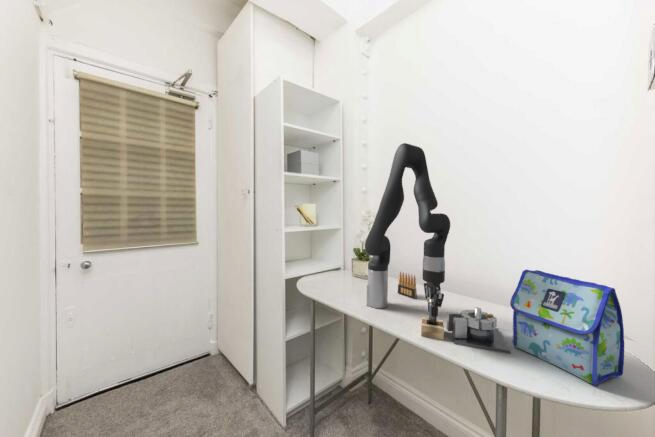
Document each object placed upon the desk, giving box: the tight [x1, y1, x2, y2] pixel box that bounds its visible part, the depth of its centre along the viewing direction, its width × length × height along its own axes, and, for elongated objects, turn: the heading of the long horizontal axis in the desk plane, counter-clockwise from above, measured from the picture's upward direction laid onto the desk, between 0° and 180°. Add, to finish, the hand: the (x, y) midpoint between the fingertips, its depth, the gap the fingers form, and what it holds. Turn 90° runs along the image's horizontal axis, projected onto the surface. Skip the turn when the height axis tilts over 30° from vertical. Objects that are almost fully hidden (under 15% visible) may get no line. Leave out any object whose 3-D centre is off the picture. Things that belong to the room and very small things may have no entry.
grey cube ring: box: [446, 309, 498, 338], centre depth 92 cm, size 11×15×7 cm
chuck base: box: [451, 307, 511, 354], centre depth 92 cm, size 16×16×10 cm
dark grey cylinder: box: [428, 298, 437, 326], centre depth 95 cm, size 3×3×12 cm
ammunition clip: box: [397, 271, 418, 300], centre depth 134 cm, size 11×2×12 cm, turn 35°
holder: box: [420, 316, 445, 341], centre depth 95 cm, size 7×7×4 cm
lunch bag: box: [509, 269, 625, 387], centre depth 77 cm, size 22×17×26 cm
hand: (432, 314), depth 95 cm, fingers closed on dark grey cylinder, 2 cm apart
